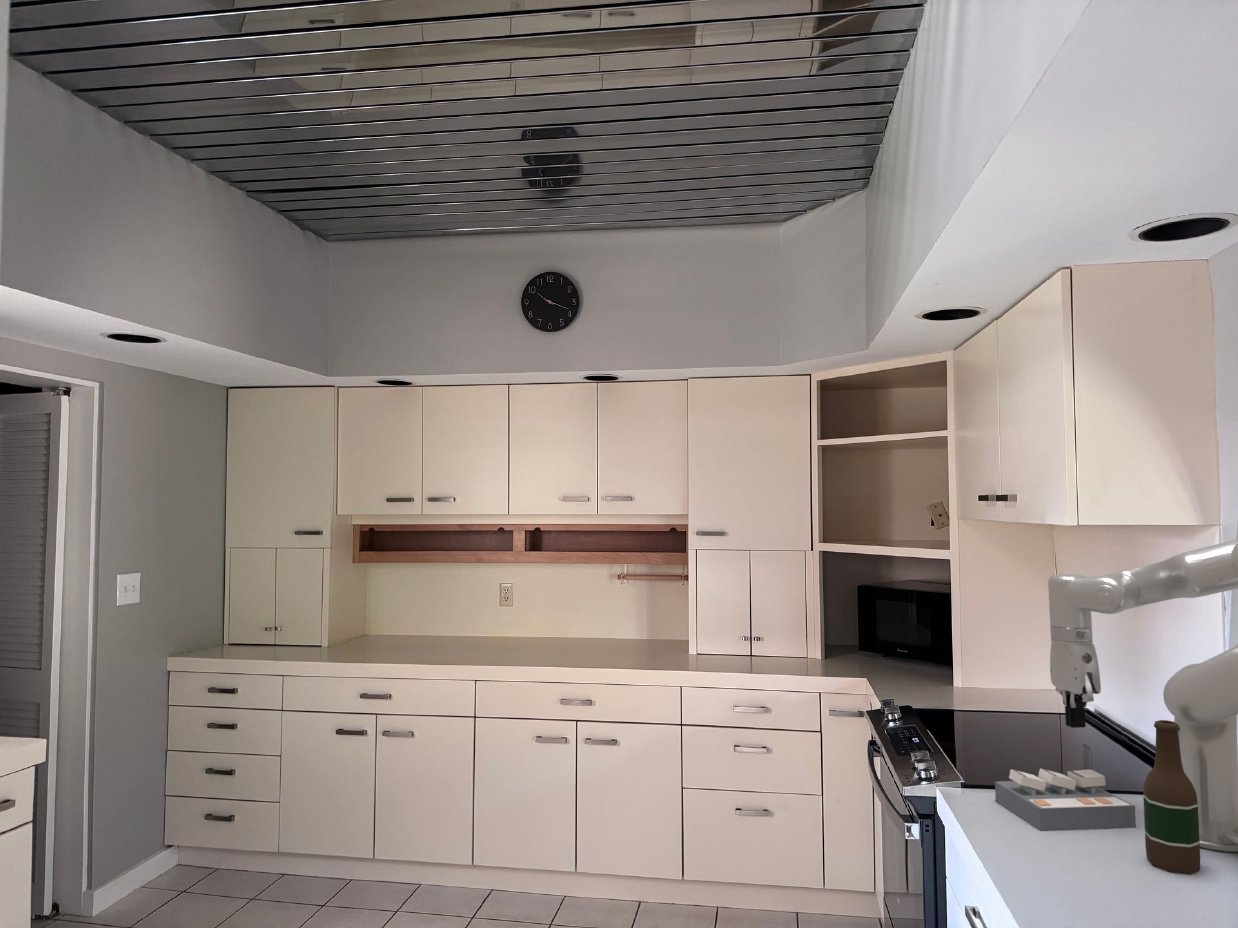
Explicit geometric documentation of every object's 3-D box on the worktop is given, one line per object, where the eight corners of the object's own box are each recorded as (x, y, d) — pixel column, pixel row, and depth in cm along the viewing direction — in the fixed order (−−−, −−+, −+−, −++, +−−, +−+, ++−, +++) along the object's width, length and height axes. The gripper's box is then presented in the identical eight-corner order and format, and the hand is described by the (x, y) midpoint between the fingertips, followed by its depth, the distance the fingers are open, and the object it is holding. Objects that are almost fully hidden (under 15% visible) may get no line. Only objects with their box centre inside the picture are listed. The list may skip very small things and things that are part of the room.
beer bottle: (1149, 851, 145) (1143, 713, 146) (1202, 863, 140) (1196, 720, 142) (1142, 866, 139) (1136, 722, 140) (1198, 879, 134) (1191, 729, 136)
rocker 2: (1105, 785, 164) (1104, 775, 164) (1081, 787, 164) (1080, 777, 164) (1091, 778, 168) (1090, 768, 168) (1068, 780, 168) (1067, 770, 168)
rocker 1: (1044, 790, 163) (1046, 781, 163) (1020, 784, 163) (1023, 775, 163) (1031, 783, 167) (1033, 774, 167) (1008, 777, 167) (1010, 768, 167)
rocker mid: (1074, 789, 163) (1076, 780, 164) (1050, 783, 163) (1052, 774, 163) (1060, 782, 168) (1062, 773, 168) (1038, 776, 167) (1040, 767, 168)
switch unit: (1135, 827, 156) (1134, 800, 157) (1040, 830, 155) (1039, 803, 155) (1082, 798, 172) (1081, 774, 173) (995, 801, 171) (994, 776, 171)
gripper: (1113, 639, 160) (1118, 735, 159) (1066, 629, 175) (1070, 717, 174) (1076, 640, 160) (1081, 736, 159) (1032, 630, 175) (1036, 718, 173)
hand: (1075, 726), depth 166 cm, fingers closed
